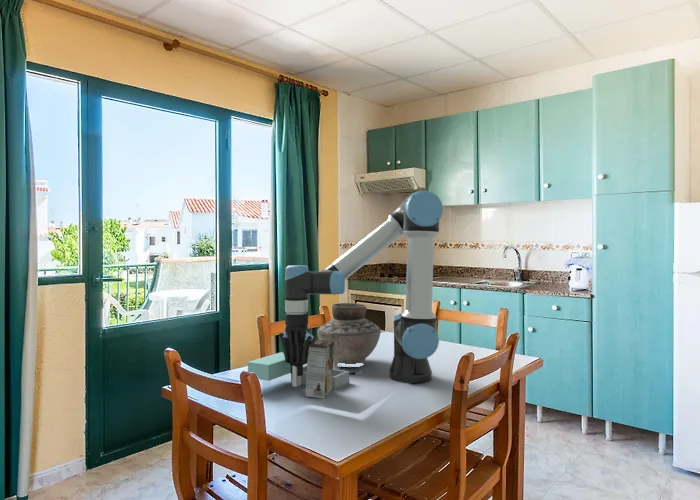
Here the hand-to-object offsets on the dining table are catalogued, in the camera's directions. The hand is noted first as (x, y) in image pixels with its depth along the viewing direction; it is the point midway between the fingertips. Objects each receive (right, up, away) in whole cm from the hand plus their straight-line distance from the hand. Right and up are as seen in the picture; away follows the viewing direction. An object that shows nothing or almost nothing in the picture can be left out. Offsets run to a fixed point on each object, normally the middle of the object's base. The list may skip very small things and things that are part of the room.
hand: (296, 385), depth 155 cm
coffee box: (+7, -2, -4) cm, 9 cm away
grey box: (+6, -2, +9) cm, 11 cm away
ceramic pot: (+17, -2, +33) cm, 38 cm away
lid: (-6, +3, +7) cm, 10 cm away
